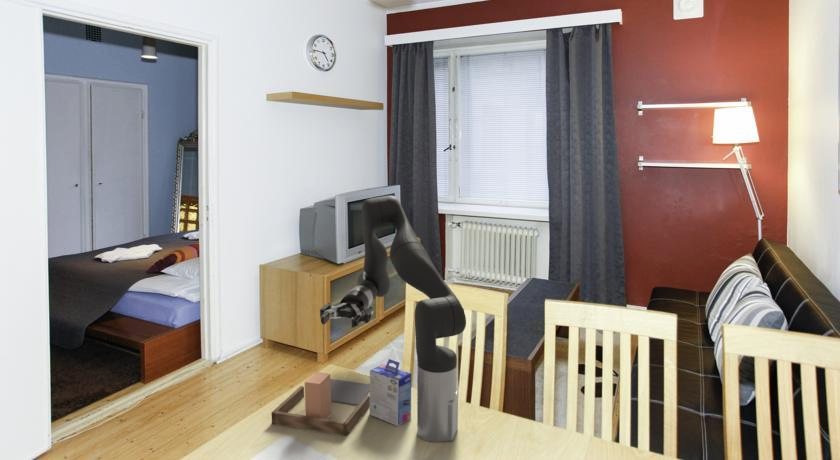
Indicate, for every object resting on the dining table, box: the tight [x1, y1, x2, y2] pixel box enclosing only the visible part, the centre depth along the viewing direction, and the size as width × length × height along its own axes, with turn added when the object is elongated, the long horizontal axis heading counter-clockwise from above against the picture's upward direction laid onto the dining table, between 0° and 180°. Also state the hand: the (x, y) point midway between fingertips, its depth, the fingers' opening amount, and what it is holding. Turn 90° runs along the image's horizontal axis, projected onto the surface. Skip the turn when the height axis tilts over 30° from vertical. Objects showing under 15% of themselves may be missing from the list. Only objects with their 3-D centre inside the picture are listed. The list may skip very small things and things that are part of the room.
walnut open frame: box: [270, 385, 370, 437], centre depth 141 cm, size 20×15×3 cm
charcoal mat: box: [330, 378, 370, 407], centre depth 154 cm, size 14×12×1 cm
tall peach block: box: [304, 371, 332, 419], centre depth 139 cm, size 4×6×11 cm, turn 164°
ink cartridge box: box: [369, 358, 412, 427], centre depth 140 cm, size 10×6×14 cm, turn 53°
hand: (337, 322), depth 149 cm, fingers open, 8 cm apart
